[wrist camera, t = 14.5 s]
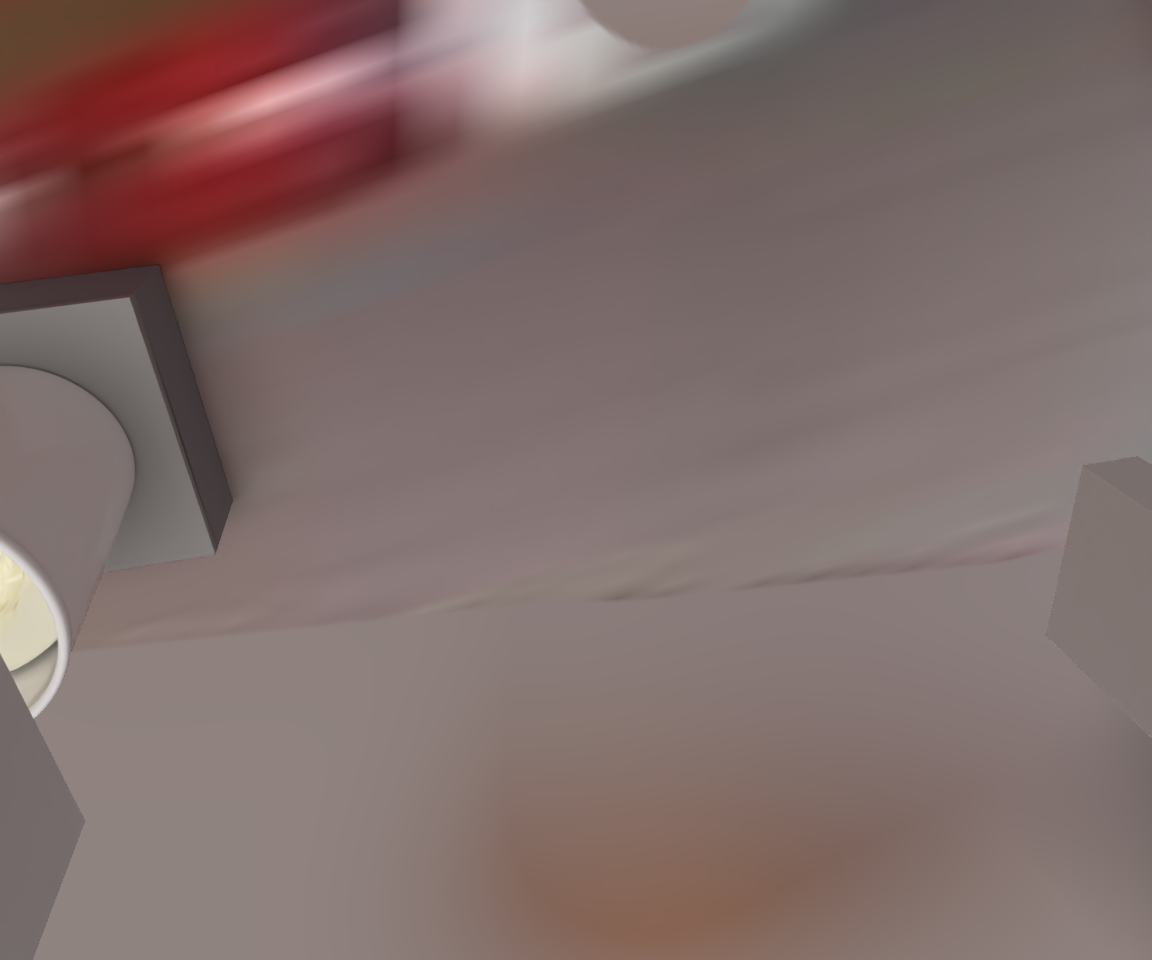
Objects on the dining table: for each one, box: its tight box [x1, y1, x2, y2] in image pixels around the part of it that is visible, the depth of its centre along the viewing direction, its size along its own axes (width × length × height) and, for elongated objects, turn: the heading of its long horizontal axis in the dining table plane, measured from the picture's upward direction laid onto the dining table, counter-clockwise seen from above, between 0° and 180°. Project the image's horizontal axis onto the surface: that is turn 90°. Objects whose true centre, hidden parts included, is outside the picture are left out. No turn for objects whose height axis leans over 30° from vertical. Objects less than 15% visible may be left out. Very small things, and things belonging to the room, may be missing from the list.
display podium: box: [0, 265, 232, 573], centre depth 39 cm, size 12×12×5 cm
